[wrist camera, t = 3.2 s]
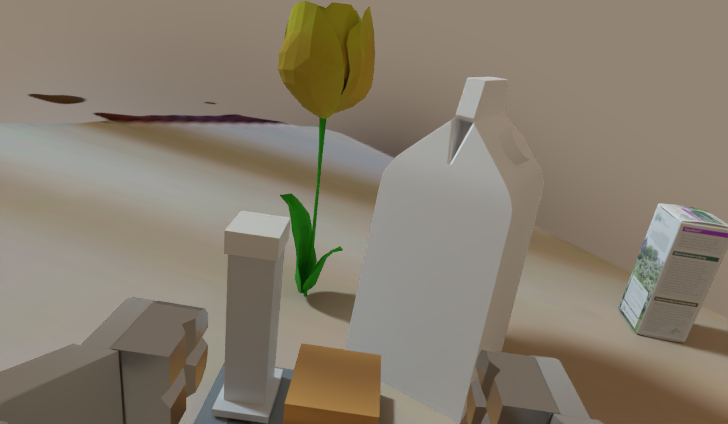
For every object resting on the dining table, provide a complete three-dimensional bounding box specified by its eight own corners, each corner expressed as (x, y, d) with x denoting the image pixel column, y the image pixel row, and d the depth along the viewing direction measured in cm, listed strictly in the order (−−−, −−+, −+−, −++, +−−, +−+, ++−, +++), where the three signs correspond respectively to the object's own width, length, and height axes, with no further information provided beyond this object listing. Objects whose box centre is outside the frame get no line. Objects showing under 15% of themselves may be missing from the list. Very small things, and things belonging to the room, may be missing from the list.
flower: (350, 286, 55) (390, 11, 44) (331, 324, 47) (373, 4, 36) (281, 270, 56) (302, -2, 45) (252, 304, 48) (270, -10, 38)
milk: (402, 306, 52) (448, 66, 43) (501, 350, 47) (580, 89, 38) (342, 360, 42) (385, 65, 33) (459, 423, 37) (551, 96, 28)
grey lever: (267, 423, 33) (281, 244, 28) (211, 415, 33) (215, 235, 28) (282, 375, 38) (297, 214, 32) (233, 368, 38) (240, 205, 32)
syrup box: (686, 344, 53) (741, 228, 48) (633, 334, 53) (682, 218, 48) (663, 316, 58) (710, 209, 53) (615, 307, 59) (657, 200, 53)
